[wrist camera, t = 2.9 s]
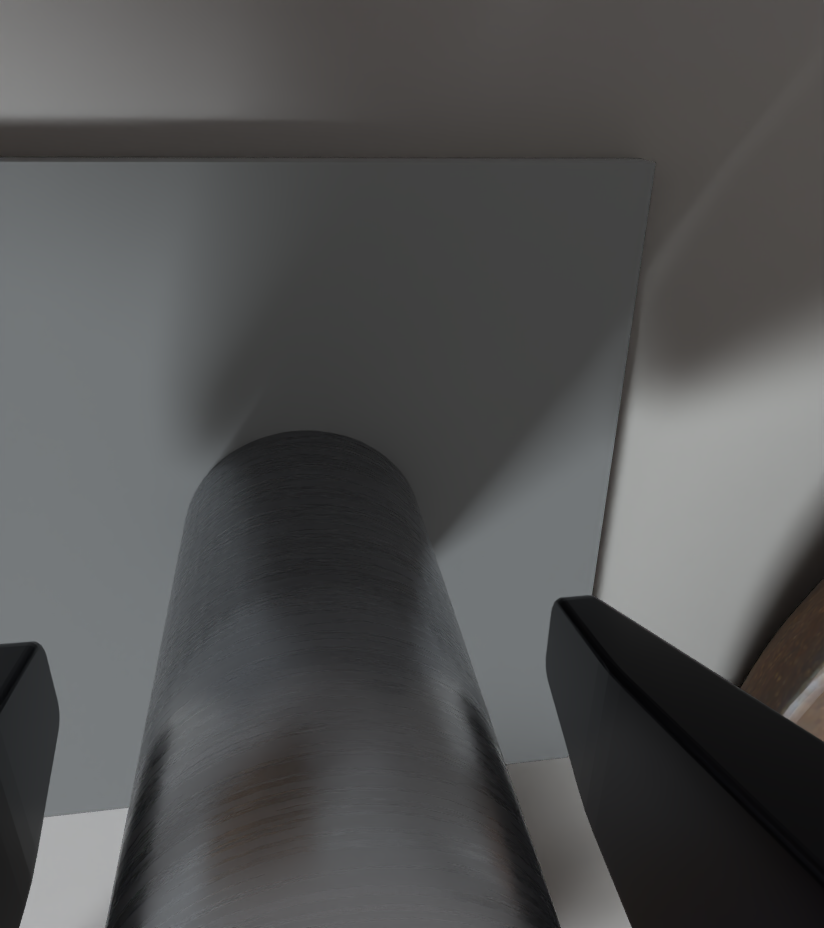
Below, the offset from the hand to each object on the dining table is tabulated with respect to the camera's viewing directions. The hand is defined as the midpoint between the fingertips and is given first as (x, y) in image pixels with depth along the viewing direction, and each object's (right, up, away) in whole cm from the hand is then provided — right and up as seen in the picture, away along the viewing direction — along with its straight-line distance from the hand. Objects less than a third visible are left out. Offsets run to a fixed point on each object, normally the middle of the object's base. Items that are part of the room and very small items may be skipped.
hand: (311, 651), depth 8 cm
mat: (0, +1, +2) cm, 3 cm away
